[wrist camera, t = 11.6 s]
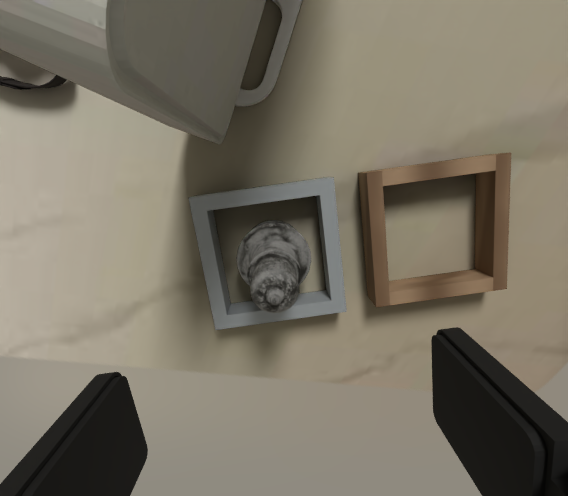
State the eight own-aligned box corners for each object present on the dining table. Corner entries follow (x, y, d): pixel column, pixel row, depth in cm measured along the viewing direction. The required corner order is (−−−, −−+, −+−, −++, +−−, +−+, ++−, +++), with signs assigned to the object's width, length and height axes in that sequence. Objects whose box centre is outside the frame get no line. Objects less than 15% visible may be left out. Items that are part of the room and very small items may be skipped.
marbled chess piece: (241, 215, 27) (218, 246, 16) (308, 218, 28) (335, 250, 16) (240, 279, 29) (218, 351, 17) (304, 281, 29) (325, 354, 17)
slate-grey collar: (328, 177, 27) (333, 177, 24) (340, 300, 30) (346, 311, 27) (195, 195, 27) (188, 197, 24) (220, 317, 30) (215, 330, 27)
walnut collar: (489, 154, 27) (511, 152, 25) (487, 279, 30) (506, 288, 27) (358, 172, 27) (366, 172, 24) (367, 296, 30) (376, 307, 27)
